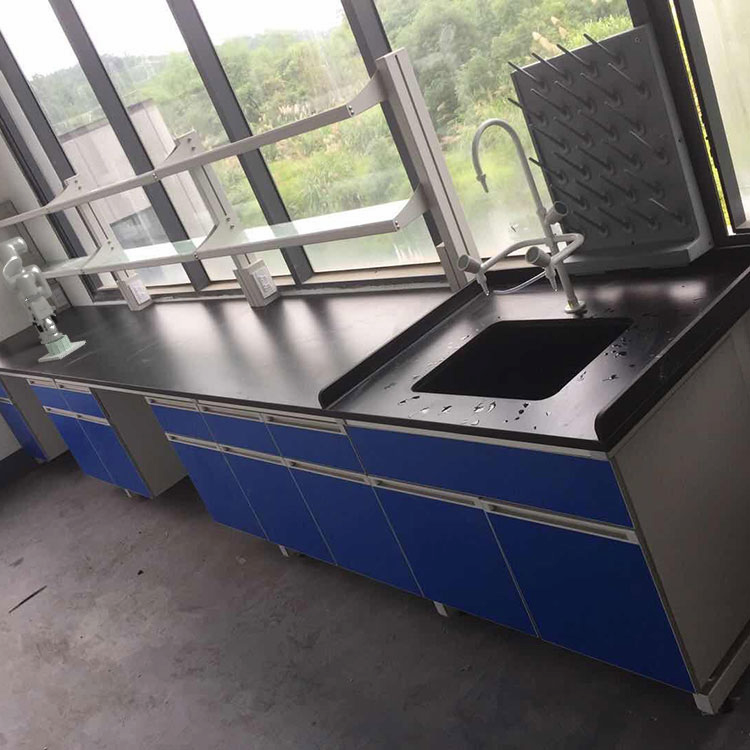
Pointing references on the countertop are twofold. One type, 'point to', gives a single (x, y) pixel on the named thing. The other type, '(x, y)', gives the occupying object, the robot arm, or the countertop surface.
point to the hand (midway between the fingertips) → (49, 327)
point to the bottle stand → (60, 349)
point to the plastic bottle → (50, 329)
